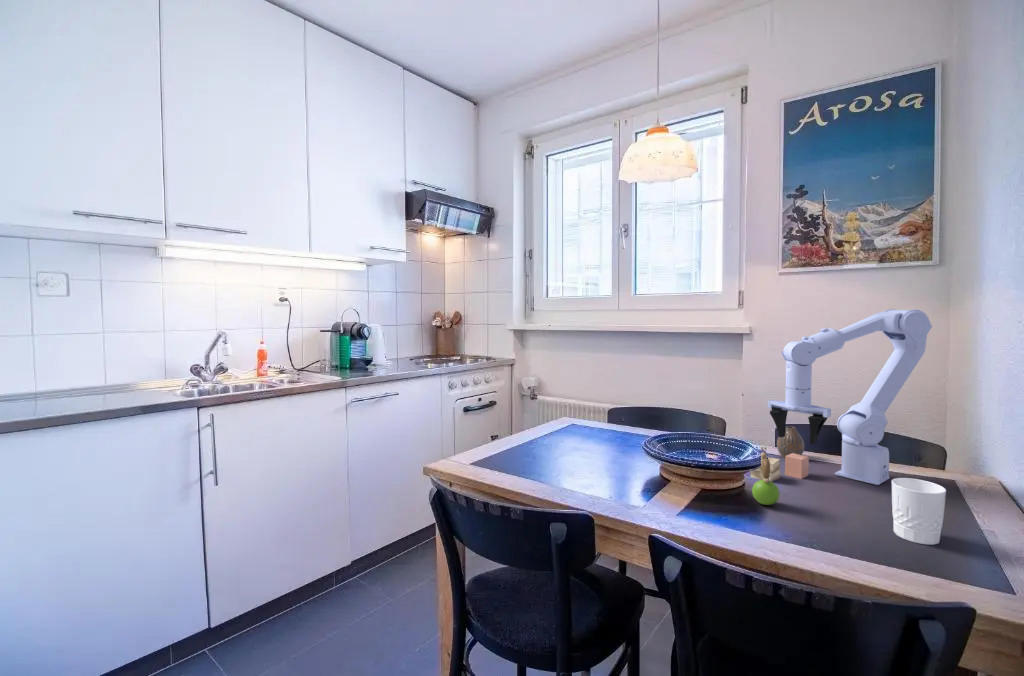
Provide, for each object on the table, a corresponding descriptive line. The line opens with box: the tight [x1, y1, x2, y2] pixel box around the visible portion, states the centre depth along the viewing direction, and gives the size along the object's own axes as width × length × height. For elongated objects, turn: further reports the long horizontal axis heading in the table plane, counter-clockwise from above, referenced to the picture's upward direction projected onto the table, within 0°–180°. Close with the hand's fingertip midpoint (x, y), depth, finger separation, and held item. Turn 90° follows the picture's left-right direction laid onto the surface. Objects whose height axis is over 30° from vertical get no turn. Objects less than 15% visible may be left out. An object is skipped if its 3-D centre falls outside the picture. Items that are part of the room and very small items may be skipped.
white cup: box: [891, 477, 947, 546], centre depth 91 cm, size 8×8×10 cm
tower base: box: [750, 469, 781, 482], centre depth 123 cm, size 5×5×2 cm
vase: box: [776, 425, 805, 458], centre depth 139 cm, size 7×7×9 cm
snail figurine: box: [751, 446, 780, 506], centre depth 107 cm, size 5×6×12 cm
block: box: [784, 453, 810, 480], centre depth 124 cm, size 4×4×5 cm
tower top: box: [756, 456, 781, 474], centre depth 123 cm, size 5×5×2 cm
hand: (797, 439), depth 124 cm, fingers open, 7 cm apart
